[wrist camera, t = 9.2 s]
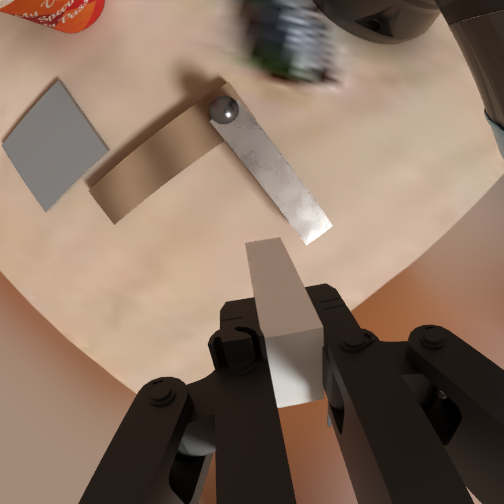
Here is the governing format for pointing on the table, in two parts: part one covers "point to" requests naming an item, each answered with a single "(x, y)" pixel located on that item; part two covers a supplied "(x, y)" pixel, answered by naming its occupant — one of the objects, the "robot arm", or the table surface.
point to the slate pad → (54, 146)
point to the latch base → (160, 158)
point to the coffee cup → (56, 12)
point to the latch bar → (268, 167)
